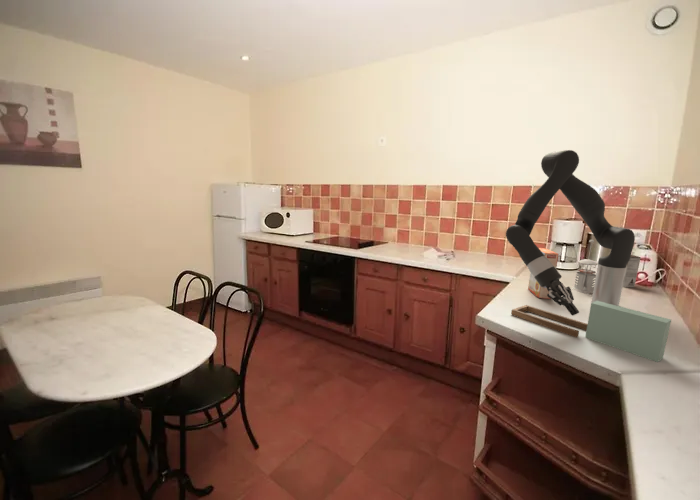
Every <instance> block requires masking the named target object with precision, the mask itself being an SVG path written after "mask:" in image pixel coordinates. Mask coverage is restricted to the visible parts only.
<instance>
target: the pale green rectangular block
mask: <svg viewBox="0 0 700 500" xmlns="http://www.w3.org/2000/svg"><path fill="white" fill-rule="evenodd" d="M587 319H588V320H587V324H588V325H587V330H585V338H587V339H589V340H592V341H595V342H598V343H601V344H604V345H606V346H609V347H613V348H615V349H618V350H621V351H624V352H626V353H630V354H633V355H636V356H639V357H642V358H645V359H646V360H650V361H653V362H657V363H659V362H660V361H662V360H663V358H664V354H665V350H666V345H667V341H668V335H669V331H670V328H671V323H672V319H670V318H667V317H662V316H659V315H655V314H651V313H647V312H643V311H639V310H635V309H632V308H628V307H624V306H620V305H619V306H616V305H612V304H608V303H604V302H600V301H595V302H593V303H590V307H589V314H588V318H587Z"/></svg>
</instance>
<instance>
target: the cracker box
mask: <svg viewBox="0 0 700 500" xmlns="http://www.w3.org/2000/svg"><path fill="white" fill-rule="evenodd" d="M538 248H539V249H540V250H541V252H542V253H543V254H544V256H545V257H546V258H547V259H548V260H549V261H550V262H551V263H552V264H553V266H554V267H555V268H556V269H558V268H557V267H558V261H559V256H560V255H559V253H557V252H555V251H552V250H550V249H548V248H543V247H538ZM529 272H530V271H529ZM527 286H528V288H527V290H528V291H530V292H531V293H532V294H533V295H534V296H536V298H538V299H545V300H551V299H550V298H549V297H548V296H547V294H549V291H548V290H547V288H546V287H541V286H540V285H539V283H538V282H537V280H536V279H535V278H534V276H533V275H532V274H531V272H530V273H529V279H528V285H527Z"/></svg>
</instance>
